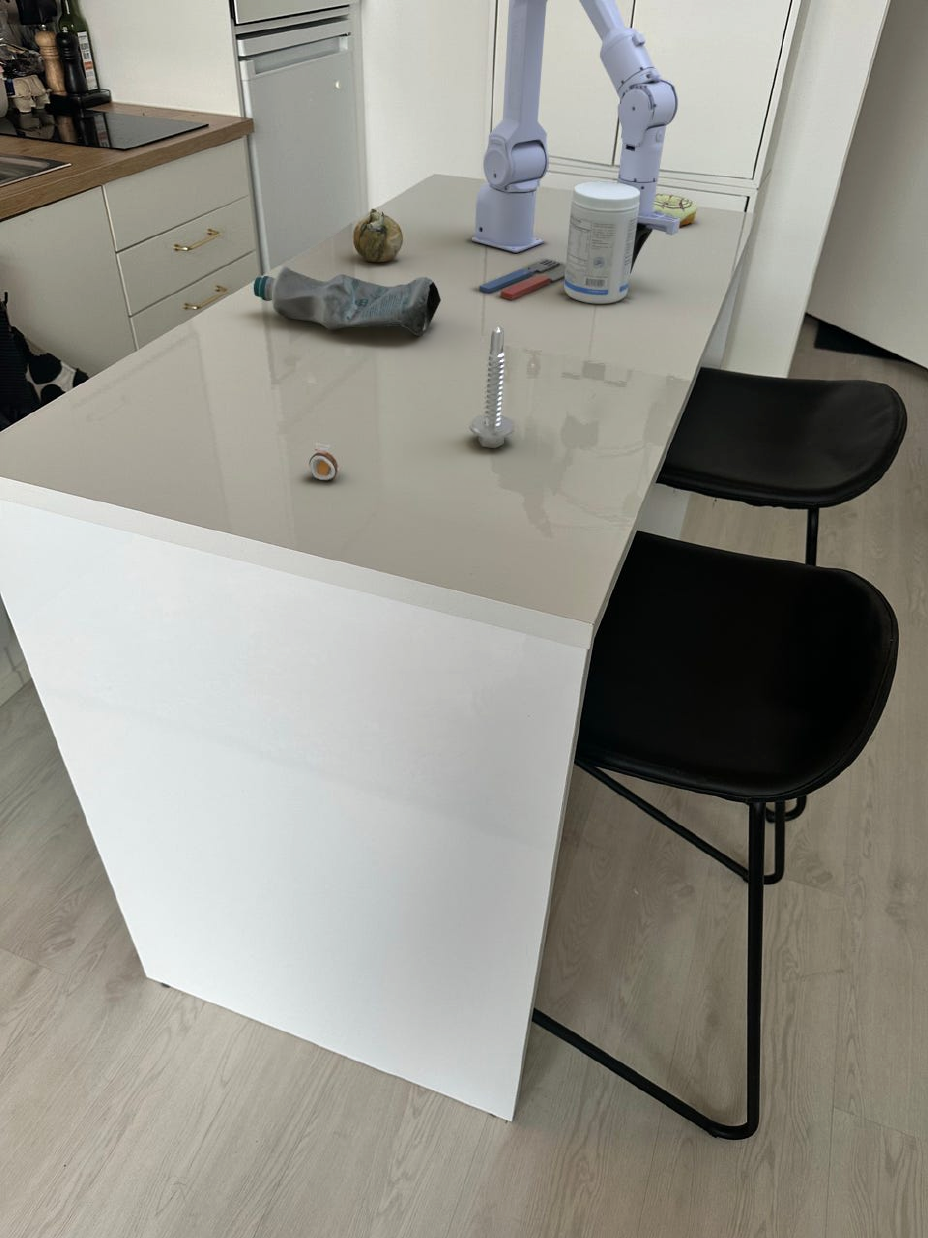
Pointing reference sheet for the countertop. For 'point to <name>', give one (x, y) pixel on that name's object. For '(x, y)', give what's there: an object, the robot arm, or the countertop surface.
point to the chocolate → (323, 464)
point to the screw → (493, 398)
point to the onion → (377, 237)
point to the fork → (517, 276)
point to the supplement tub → (601, 241)
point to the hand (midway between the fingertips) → (624, 273)
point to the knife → (532, 284)
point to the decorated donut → (676, 207)
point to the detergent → (350, 301)
